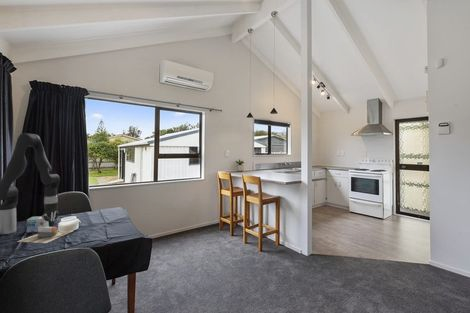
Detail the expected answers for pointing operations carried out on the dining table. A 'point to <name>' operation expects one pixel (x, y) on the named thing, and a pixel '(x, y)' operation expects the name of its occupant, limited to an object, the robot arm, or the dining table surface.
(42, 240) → the panel
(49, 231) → the dial
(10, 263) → the dining table surface
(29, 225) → the light bulb box
